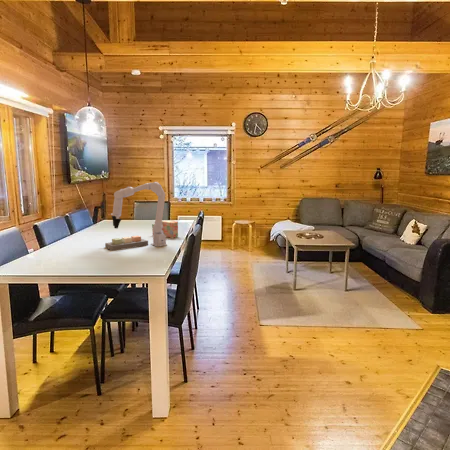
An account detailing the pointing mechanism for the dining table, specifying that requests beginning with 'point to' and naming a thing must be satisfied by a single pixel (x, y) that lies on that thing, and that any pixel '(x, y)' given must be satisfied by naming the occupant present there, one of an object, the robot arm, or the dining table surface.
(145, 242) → the board
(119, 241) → the green key
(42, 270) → the dining table surface
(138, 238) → the terracotta key
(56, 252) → the dining table surface
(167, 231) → the stack of blocks
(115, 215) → the robot arm
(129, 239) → the cream key
